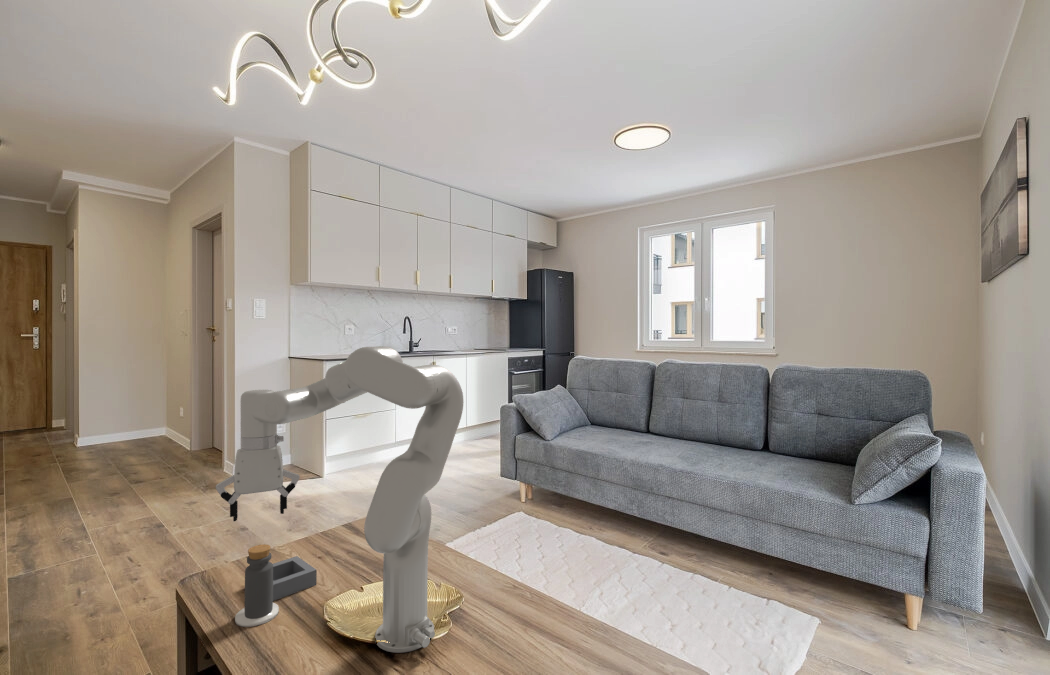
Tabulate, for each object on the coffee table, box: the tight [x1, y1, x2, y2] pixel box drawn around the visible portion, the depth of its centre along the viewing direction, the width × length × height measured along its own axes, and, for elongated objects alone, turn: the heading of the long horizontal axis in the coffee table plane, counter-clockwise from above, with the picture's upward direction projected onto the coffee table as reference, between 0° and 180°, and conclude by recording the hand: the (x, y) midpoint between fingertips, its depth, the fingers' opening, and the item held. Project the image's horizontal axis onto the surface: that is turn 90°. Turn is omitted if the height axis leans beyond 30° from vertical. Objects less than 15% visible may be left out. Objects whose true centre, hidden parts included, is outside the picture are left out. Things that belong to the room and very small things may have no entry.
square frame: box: [272, 555, 318, 602], centre depth 130 cm, size 12×12×4 cm
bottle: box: [244, 544, 274, 619], centre depth 115 cm, size 6×6×15 cm
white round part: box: [234, 602, 280, 628], centre depth 115 cm, size 9×9×1 cm
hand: (259, 515), depth 115 cm, fingers open, 9 cm apart
